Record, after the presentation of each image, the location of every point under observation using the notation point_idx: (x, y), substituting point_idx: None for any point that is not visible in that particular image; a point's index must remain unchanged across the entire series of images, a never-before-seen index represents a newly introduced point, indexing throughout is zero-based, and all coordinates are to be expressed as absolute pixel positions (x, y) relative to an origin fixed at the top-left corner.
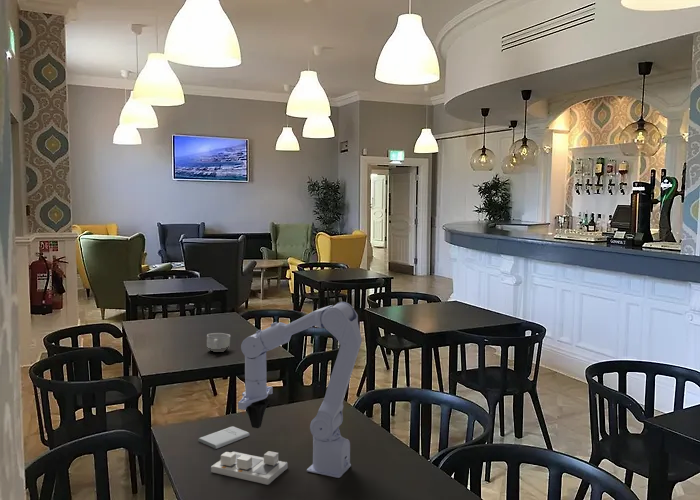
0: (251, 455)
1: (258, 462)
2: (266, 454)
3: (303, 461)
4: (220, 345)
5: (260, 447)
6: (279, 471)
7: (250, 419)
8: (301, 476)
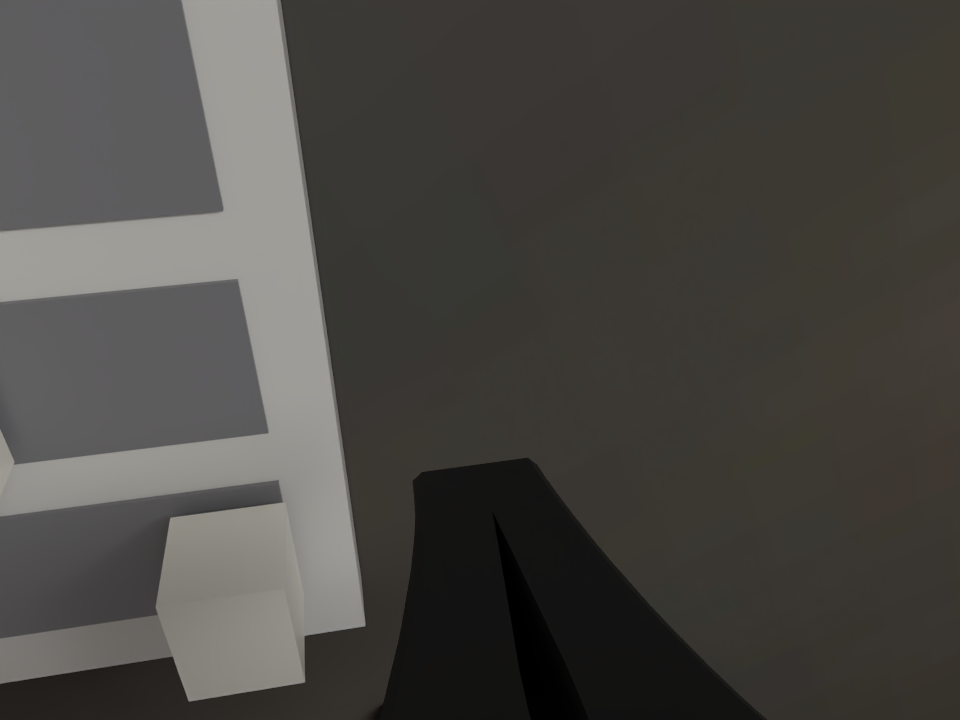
0: (301, 238)
1: (175, 437)
2: (181, 625)
3: None
4: None
5: (729, 51)
6: None
7: (407, 634)
8: (292, 714)
